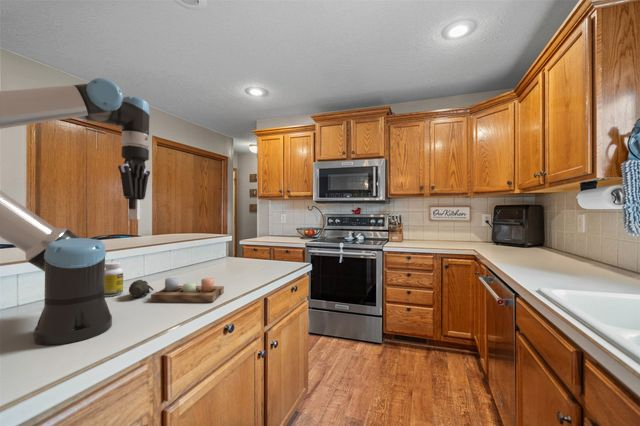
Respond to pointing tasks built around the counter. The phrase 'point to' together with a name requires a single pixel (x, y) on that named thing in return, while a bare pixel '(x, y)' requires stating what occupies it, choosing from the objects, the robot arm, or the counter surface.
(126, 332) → the counter surface
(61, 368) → the counter surface
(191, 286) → the sage button
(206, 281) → the terracotta button
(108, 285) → the pill bottle
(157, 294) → the wooden tray
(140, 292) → the hand grenade
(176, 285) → the grey cylinder
